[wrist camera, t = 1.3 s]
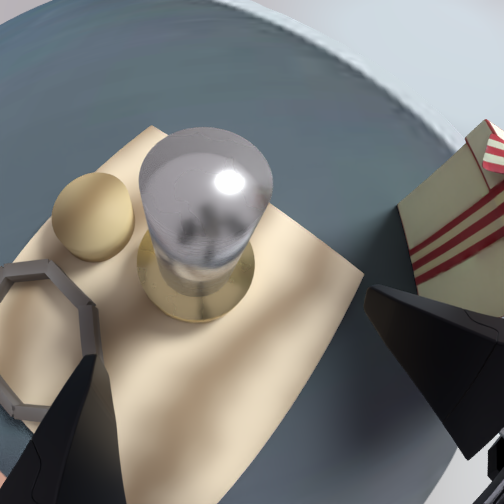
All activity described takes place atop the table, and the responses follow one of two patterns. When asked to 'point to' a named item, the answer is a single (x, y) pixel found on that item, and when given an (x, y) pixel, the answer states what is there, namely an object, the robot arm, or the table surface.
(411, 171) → the table surface
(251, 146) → the silver round piece
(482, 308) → the gift box
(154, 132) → the board
